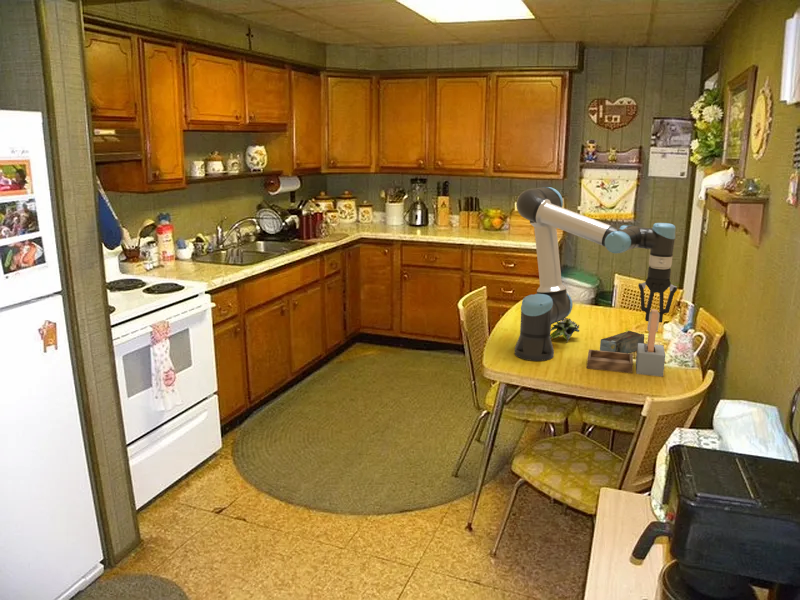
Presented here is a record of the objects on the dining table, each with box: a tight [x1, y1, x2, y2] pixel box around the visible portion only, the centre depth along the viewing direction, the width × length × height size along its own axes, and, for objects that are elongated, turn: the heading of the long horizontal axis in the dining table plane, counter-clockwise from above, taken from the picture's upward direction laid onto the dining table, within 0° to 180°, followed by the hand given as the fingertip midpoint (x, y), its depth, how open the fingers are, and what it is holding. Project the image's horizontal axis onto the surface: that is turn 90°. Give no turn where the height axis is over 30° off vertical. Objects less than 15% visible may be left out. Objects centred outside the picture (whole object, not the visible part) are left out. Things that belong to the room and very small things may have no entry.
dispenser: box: [635, 343, 666, 378], centre depth 238 cm, size 9×12×9 cm
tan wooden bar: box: [646, 308, 659, 352], centre depth 236 cm, size 2×6×15 cm, turn 161°
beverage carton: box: [599, 330, 645, 354], centre depth 259 cm, size 8×19×7 cm, turn 126°
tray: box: [586, 349, 634, 374], centre depth 243 cm, size 16×12×4 cm
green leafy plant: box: [550, 317, 580, 343], centre depth 272 cm, size 11×11×12 cm
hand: (652, 330), depth 235 cm, fingers closed on tan wooden bar, 2 cm apart
